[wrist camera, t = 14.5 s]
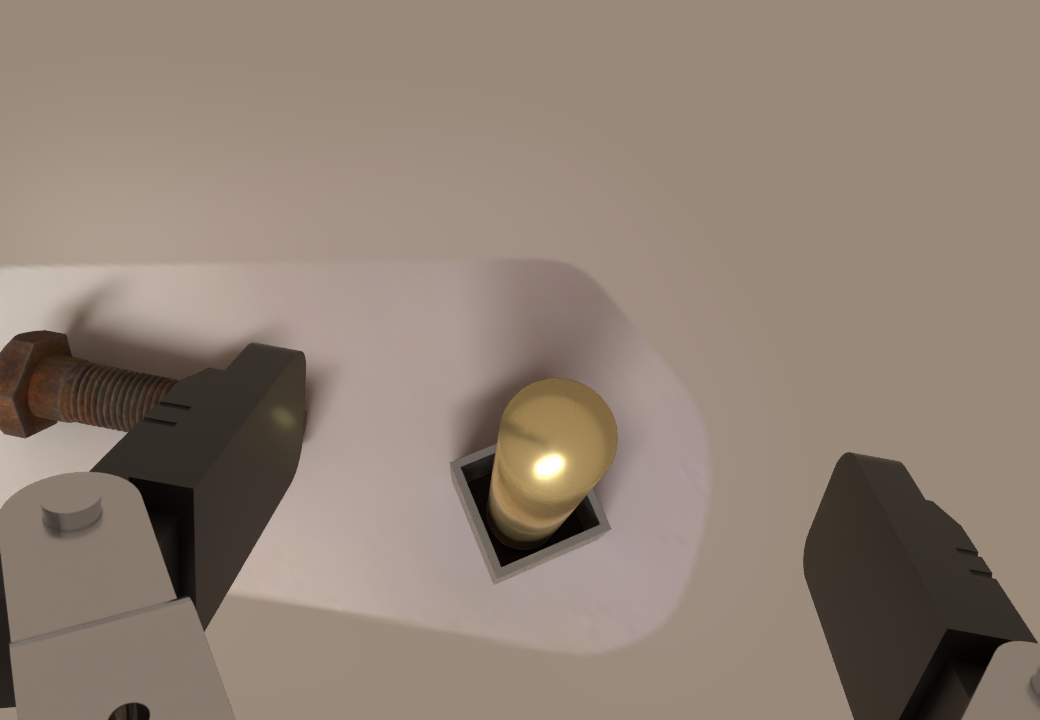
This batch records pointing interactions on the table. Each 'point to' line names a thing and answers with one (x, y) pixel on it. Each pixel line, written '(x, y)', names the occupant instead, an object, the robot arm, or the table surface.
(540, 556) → the open square box
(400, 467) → the table surface
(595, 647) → the table surface
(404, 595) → the table surface
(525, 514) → the tall amber cylinder
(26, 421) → the bolt
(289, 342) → the table surface
